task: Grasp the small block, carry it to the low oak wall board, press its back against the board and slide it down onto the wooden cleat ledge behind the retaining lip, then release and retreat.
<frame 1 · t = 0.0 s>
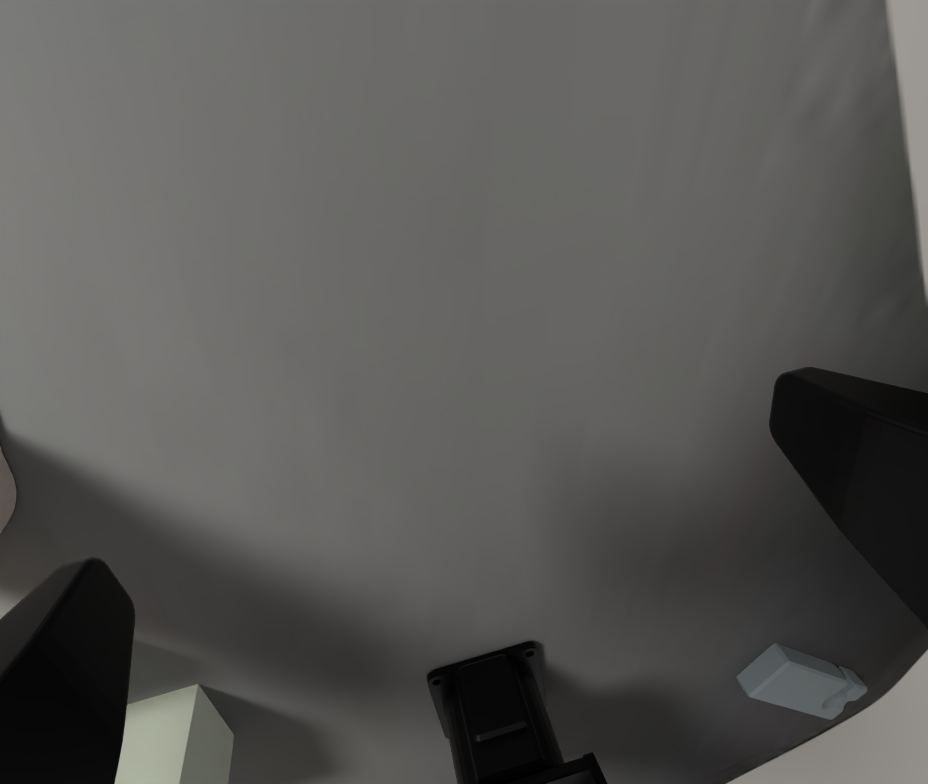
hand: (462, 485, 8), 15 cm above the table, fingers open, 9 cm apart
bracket: (790, 667, 43), on the table
block: (164, 725, 31), on the table
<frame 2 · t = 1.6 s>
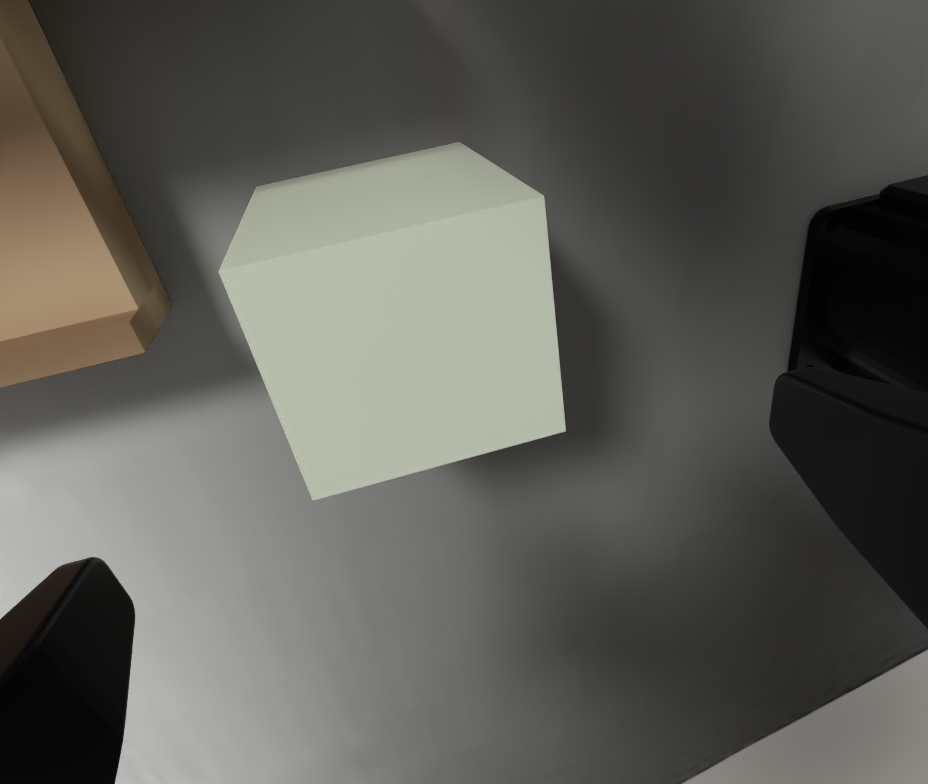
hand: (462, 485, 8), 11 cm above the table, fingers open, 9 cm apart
block: (382, 253, 17), on the table
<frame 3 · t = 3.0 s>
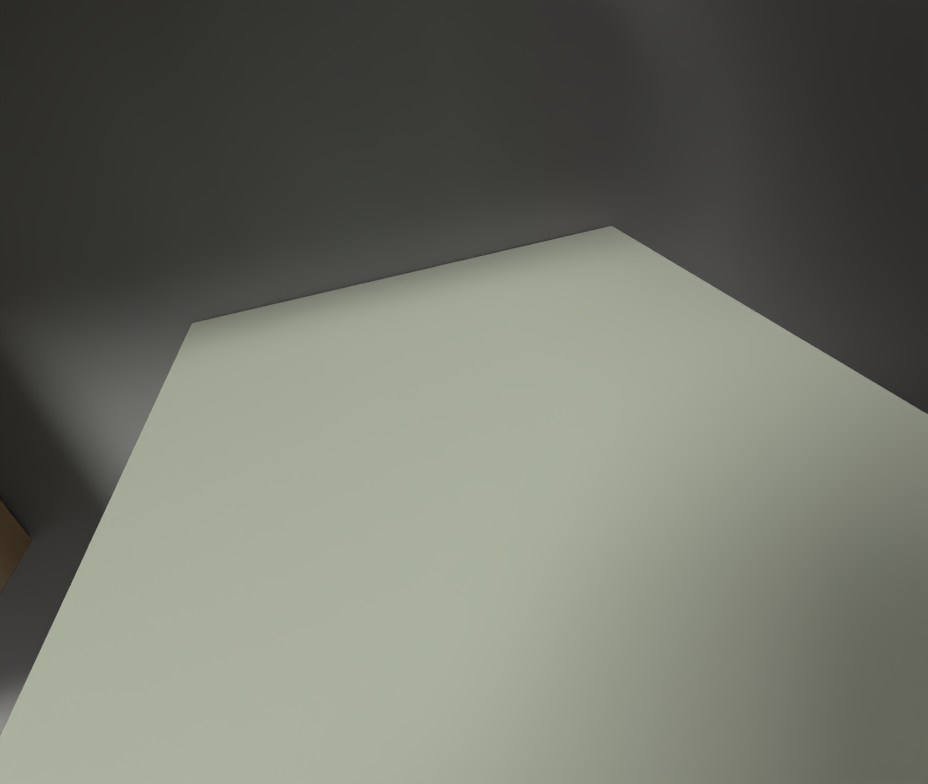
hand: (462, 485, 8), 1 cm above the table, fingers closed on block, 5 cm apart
block: (444, 429, 9), on the table, touching gripper
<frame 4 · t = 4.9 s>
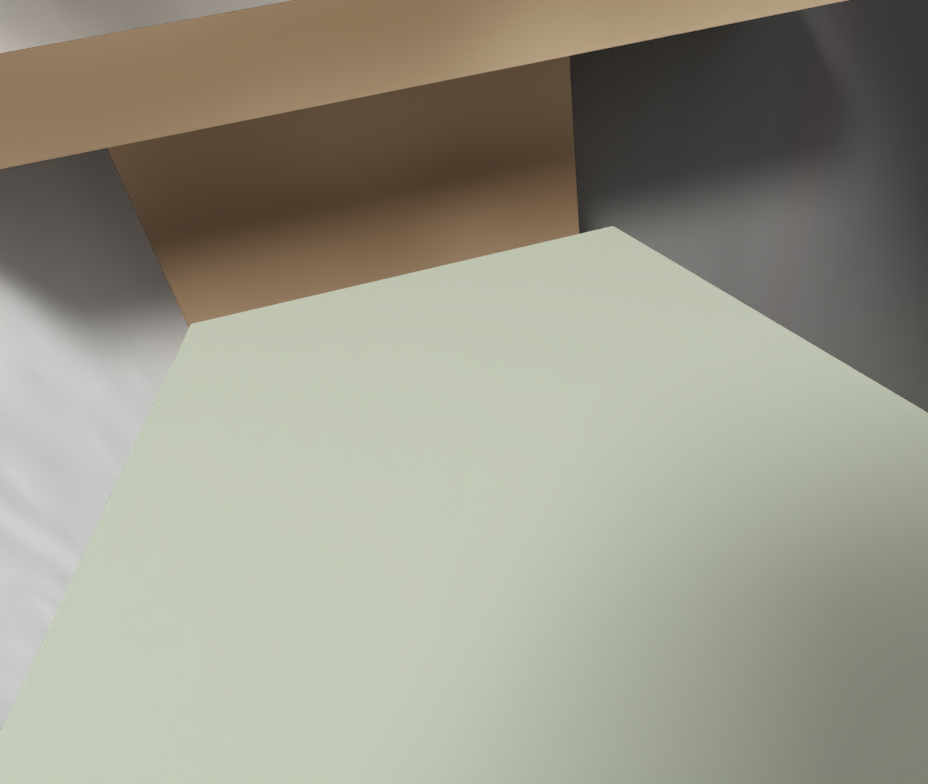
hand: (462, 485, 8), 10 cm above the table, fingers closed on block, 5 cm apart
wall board: (332, 49, 14), on the table
block: (444, 430, 9), point 9 cm above the table, touching gripper
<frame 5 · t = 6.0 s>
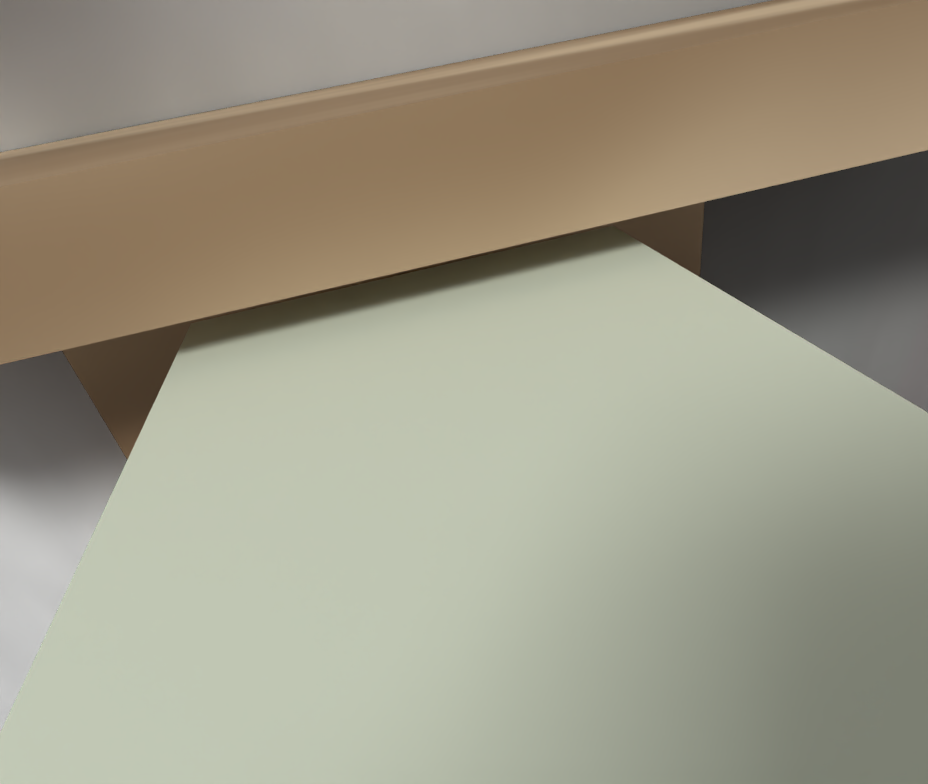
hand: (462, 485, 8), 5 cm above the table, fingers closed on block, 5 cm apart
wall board: (362, 132, 10), on the table
block: (444, 429, 9), point 4 cm above the table, touching gripper
when the fingers open (4 cm above the table, at t = 6.8 s): block stays where it is, resting on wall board.
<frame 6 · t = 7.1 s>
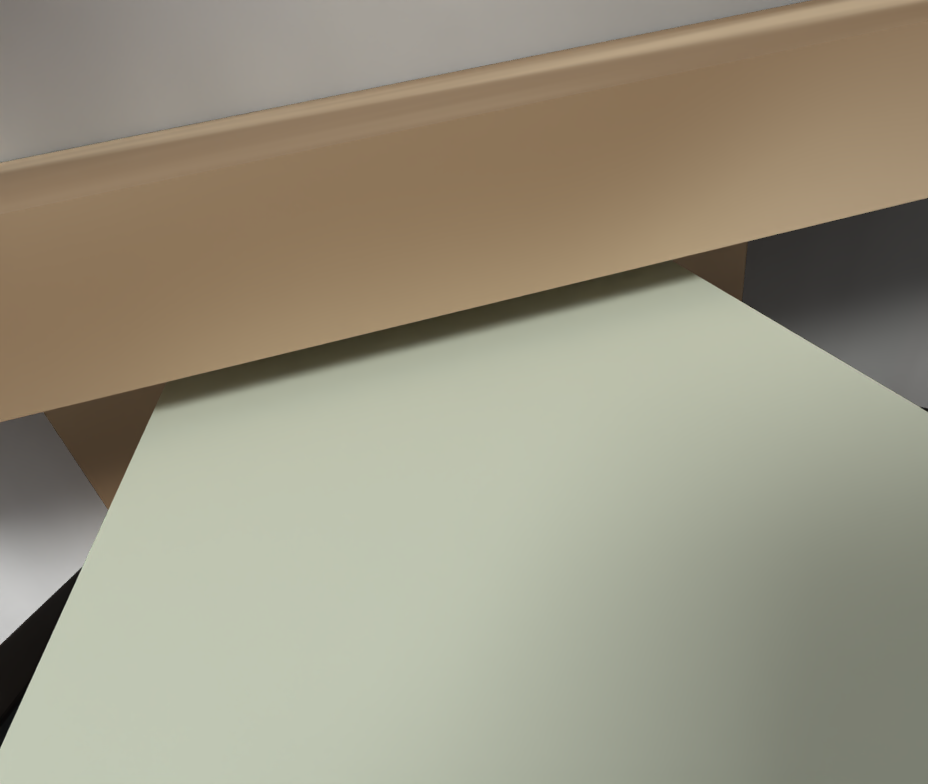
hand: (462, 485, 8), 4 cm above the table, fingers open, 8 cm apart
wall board: (369, 145, 9), on the table
block: (442, 420, 9), point 2 cm above the table, touching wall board
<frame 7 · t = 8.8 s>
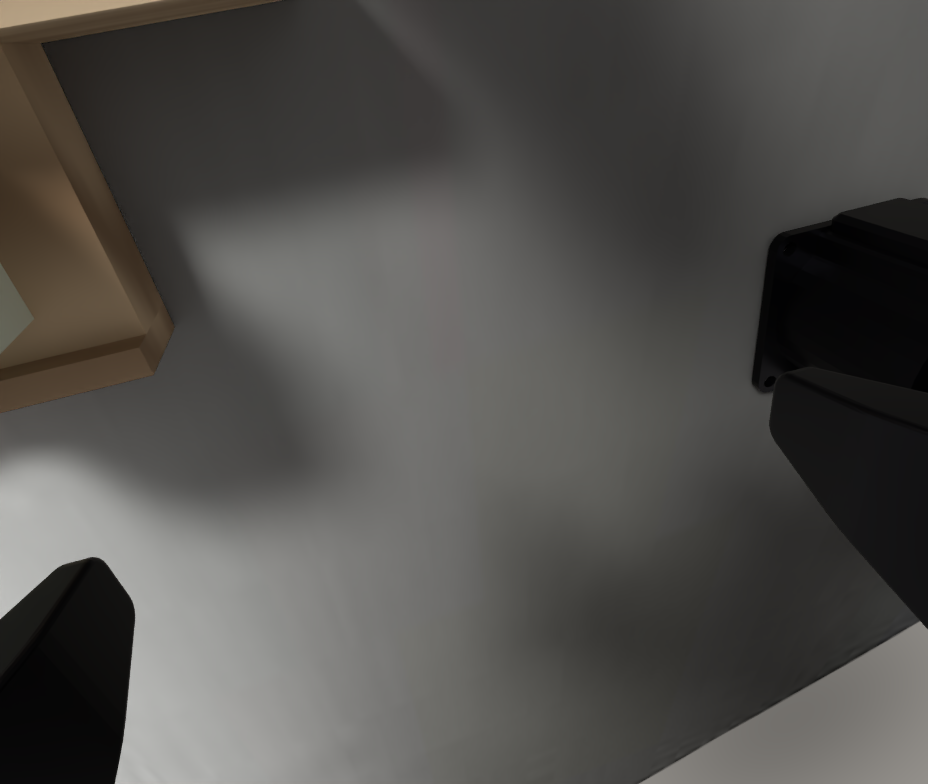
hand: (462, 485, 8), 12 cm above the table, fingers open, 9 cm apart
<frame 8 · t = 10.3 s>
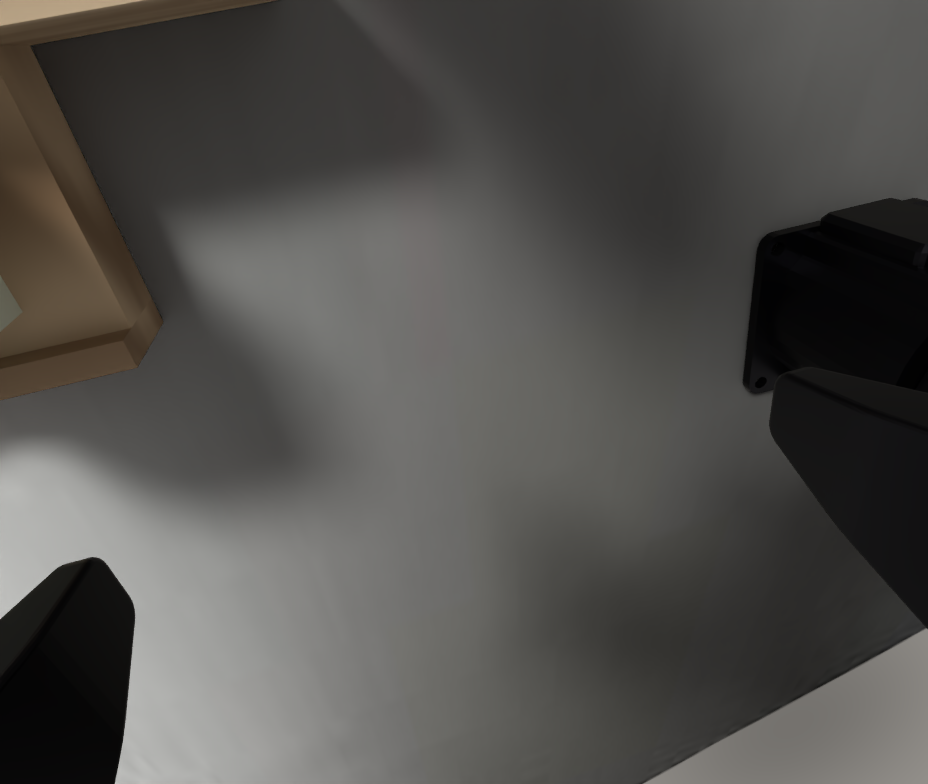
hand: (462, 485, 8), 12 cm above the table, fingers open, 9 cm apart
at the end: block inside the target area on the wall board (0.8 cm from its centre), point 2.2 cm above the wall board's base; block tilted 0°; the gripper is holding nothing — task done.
